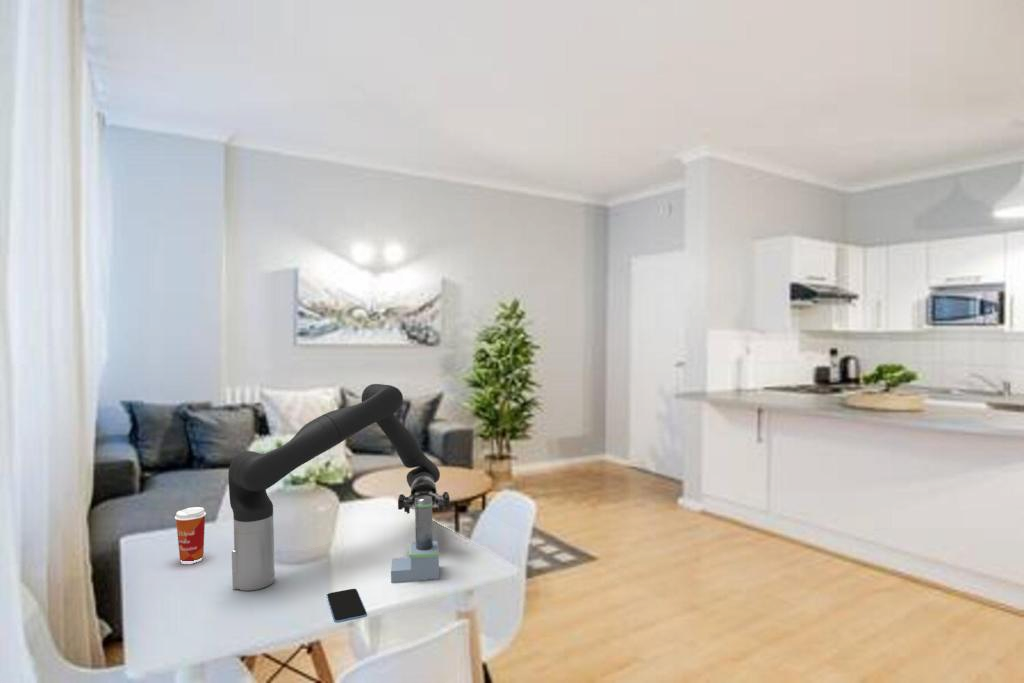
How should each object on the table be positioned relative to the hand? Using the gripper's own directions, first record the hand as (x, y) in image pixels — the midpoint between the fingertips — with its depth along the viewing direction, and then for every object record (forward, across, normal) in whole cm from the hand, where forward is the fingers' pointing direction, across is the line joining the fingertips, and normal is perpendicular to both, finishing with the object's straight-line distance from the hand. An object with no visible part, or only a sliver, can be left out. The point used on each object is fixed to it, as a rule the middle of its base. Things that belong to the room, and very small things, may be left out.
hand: (424, 509), depth 161 cm
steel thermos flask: (+5, 0, +8) cm, 10 cm away
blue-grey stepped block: (+6, -3, +15) cm, 17 cm away
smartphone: (+20, -19, +16) cm, 31 cm away
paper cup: (-14, -64, +15) cm, 67 cm away
